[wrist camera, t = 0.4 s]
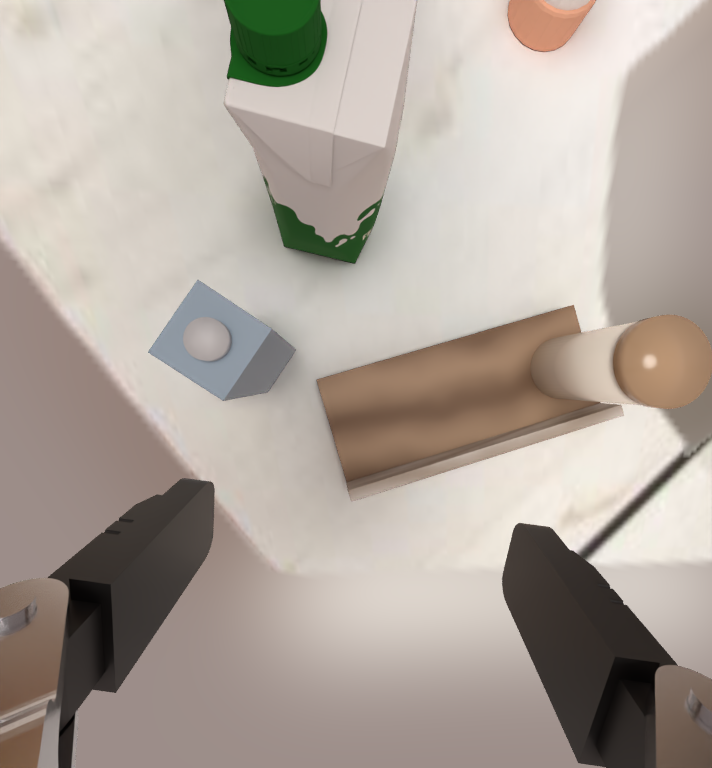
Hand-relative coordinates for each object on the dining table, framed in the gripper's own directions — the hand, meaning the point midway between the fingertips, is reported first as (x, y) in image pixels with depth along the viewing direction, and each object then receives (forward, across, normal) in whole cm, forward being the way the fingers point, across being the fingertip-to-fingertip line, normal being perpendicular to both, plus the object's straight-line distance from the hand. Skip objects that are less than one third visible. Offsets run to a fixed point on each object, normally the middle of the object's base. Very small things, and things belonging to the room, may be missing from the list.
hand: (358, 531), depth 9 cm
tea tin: (+25, +11, 0) cm, 27 cm away
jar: (+26, -18, -2) cm, 32 cm away
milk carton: (+29, +6, -13) cm, 32 cm away
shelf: (+27, -9, +2) cm, 28 cm away
